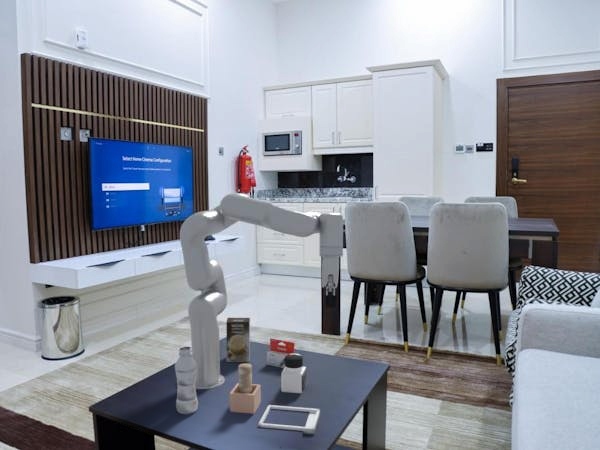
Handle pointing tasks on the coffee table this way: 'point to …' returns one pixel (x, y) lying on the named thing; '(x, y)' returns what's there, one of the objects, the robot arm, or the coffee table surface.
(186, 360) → the plastic bottle
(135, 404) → the coffee table surface
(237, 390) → the pen pot
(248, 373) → the dowel
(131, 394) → the coffee table surface
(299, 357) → the medicine bottle
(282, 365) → the ink cartridge box
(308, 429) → the tray
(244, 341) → the coffee box
